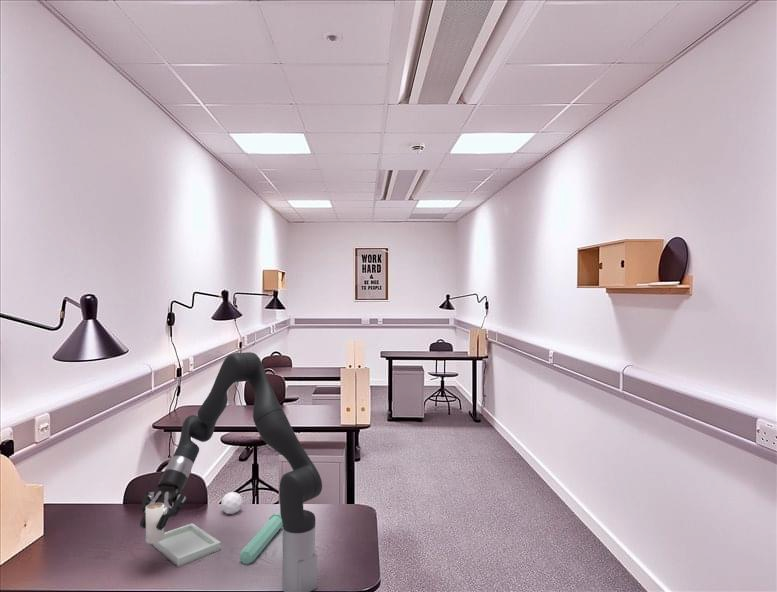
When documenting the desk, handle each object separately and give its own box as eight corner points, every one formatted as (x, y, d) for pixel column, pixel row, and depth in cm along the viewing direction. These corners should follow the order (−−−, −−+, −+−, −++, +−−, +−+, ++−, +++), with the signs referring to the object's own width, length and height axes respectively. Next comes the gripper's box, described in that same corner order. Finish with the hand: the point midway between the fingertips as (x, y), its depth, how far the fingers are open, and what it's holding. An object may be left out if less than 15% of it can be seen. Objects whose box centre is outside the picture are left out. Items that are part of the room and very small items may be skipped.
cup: (166, 539, 148) (166, 505, 148) (149, 545, 144) (149, 510, 145) (159, 533, 151) (160, 501, 152) (142, 539, 148) (143, 505, 148)
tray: (220, 550, 161) (220, 542, 161) (178, 566, 150) (178, 558, 150) (192, 530, 174) (192, 523, 174) (151, 544, 164) (151, 536, 164)
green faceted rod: (249, 546, 151) (281, 510, 176) (233, 552, 152) (267, 515, 177) (256, 565, 151) (287, 526, 176) (240, 570, 152) (272, 531, 176)
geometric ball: (225, 521, 188) (213, 504, 187) (239, 506, 194) (227, 490, 194) (236, 516, 183) (223, 499, 183) (250, 501, 190) (237, 484, 190)
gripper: (151, 466, 157) (123, 521, 145) (191, 469, 154) (165, 525, 142) (162, 477, 162) (136, 530, 150) (201, 480, 159) (177, 535, 147)
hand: (150, 528), depth 146 cm, fingers closed on cup, 5 cm apart
